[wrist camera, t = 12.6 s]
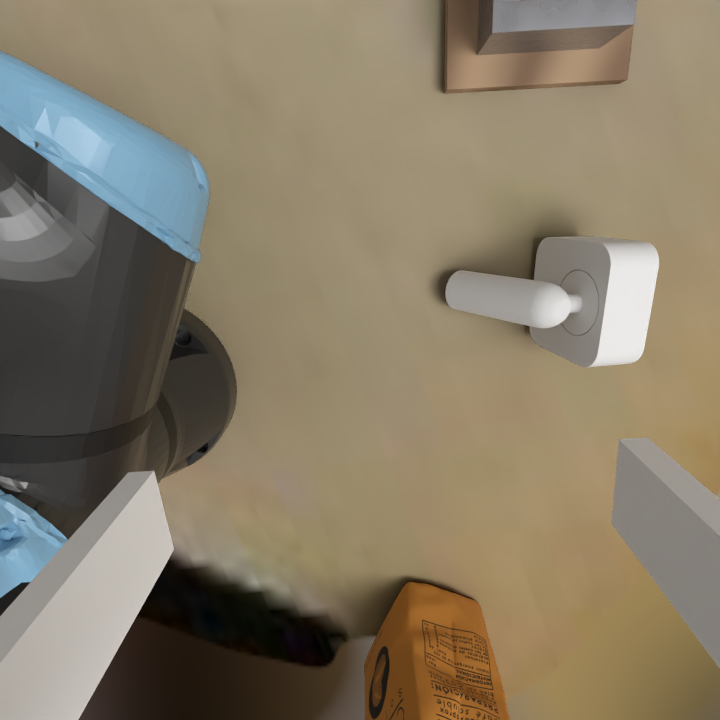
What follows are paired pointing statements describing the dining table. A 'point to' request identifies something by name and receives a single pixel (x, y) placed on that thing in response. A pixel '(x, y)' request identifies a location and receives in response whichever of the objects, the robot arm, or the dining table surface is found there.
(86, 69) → the dining table surface
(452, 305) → the wall hook
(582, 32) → the link
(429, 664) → the coffee package
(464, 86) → the keeper
